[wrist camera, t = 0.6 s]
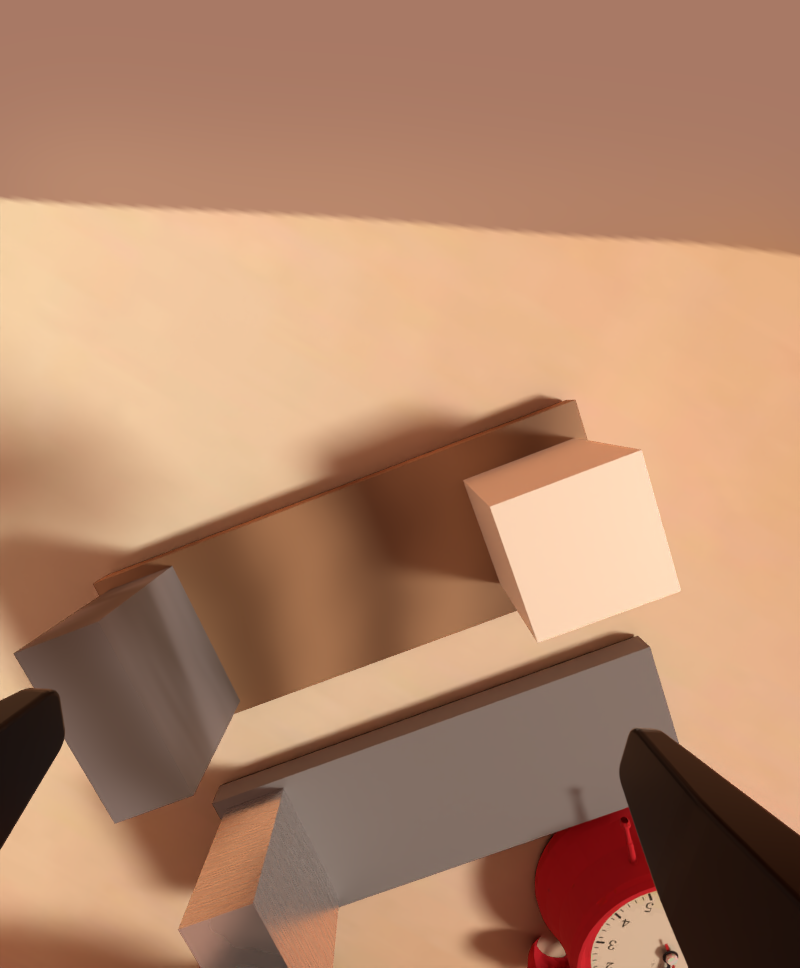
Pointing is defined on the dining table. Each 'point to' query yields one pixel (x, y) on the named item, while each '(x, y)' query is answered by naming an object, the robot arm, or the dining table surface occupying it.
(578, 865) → the alarm clock
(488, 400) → the dining table surface
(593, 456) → the cream block
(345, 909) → the dining table surface
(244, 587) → the walnut strip
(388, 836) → the grey piece
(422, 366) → the dining table surface
